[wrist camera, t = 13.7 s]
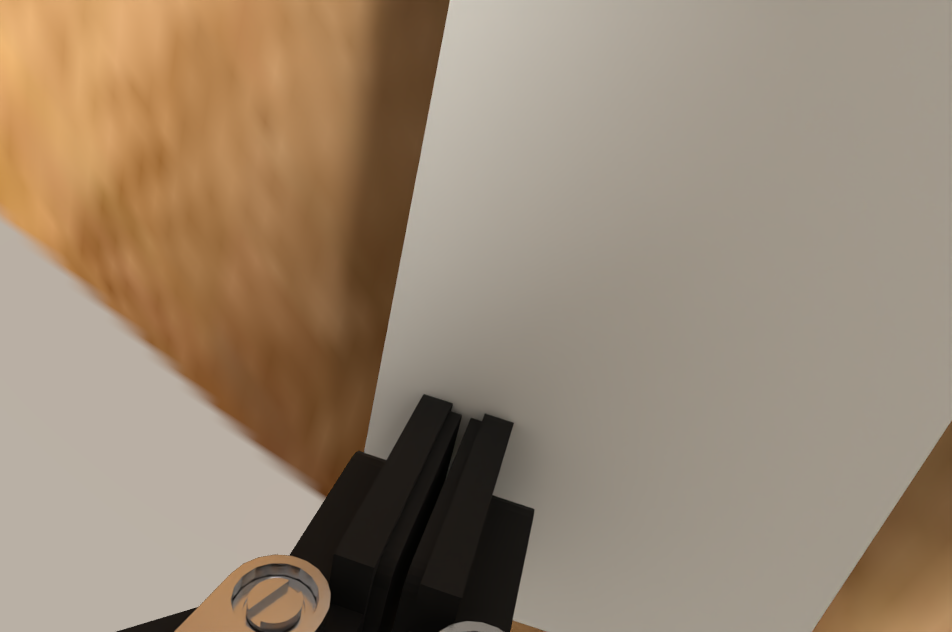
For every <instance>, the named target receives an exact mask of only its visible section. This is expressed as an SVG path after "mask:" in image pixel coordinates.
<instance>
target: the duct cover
mask: <svg viewBox="0 0 952 632" xmlns="http://www.w3.org/2000/svg"><path fill="white" fill-rule="evenodd" d="M424 394H426V395H429V396H432V397H435V398H438V399H441V400H444V401H448V402H451V403H453V406H452V410H451V411H452V412H455V413H458V414H461V415H462V418H461V422H460V426H459V430H458V433H457V437H456V441H455V445H454V449H453V452H452V456H451V460H450V464H449V468H448V471H447V475H448V472H449V470H450V467H451V465H452V462H453V460H454V457H455V455H456V453H457V450H458V448H459V445H460V443H461V440H462V438H463V435H464V433H465V431H466V428H467V426H468V423H469V421H470V418H474V419H477V420H480V421H482V420H483V417H484V414H488V415H492V416H495V417H498V418H501V419H504V420H507V421H510V422H513V423H514V425H513V428H512V431H511V435H510V438H509V441H508V445H507V448H506V451H505V455H504V458H503V462H502V465H501V468H500V472H499V475H498V478H497V482H496V485H495V488H494V492H493V495H494V496H497V497H500V498H503V499H506V500H509V501H512V502H515V503H518V504H521V505H524V506H527V507H530V508H533V509H534V517H533V522H532V527H531V532H530V537H529V542H528V547H527V552H526V557H525V561H524V566H523V571H522V576H521V581H520V586H519V591H518V596H517V600H516V605H515V610H514V615H513V621H516V622H519V623H522V624H525V625H528V626H531V627H534V628H537V629H540V630H543V631H546V632H812V631H813V629H814V628H815V626H816V625H817V623H818V622H819V620H820V619H821V617H822V616H823V614H824V613H825V611H826V610H827V608H828V607H829V605H830V604H831V602H832V601H833V599H834V598H835V596H836V594H837V593H838V591H839V590H840V588H841V587H842V585H843V584H844V582H845V581H846V579H847V578H848V576H849V575H850V573H851V572H852V570H853V569H854V567H855V566H856V564H857V563H858V561H859V560H860V558H861V557H862V555H863V554H864V552H865V551H866V549H867V548H868V546H869V545H870V543H871V542H872V540H873V539H874V537H875V536H876V534H877V533H878V531H879V530H880V528H881V527H882V525H883V524H884V522H885V520H886V519H887V517H888V516H889V514H890V513H891V511H892V510H893V508H894V507H895V505H896V504H897V502H898V501H899V499H900V498H901V496H902V495H903V493H904V492H905V490H906V489H907V487H908V486H909V484H910V483H911V481H912V480H913V478H914V477H915V475H916V474H917V472H918V471H919V469H920V468H921V466H922V465H923V463H924V462H925V460H926V459H927V457H928V456H929V454H930V453H931V451H932V449H933V448H934V446H935V445H936V443H937V442H938V440H939V439H940V437H941V436H942V434H943V433H944V431H945V430H946V428H947V427H948V425H949V424H950V422H951V421H952V0H450V2H449V8H448V13H447V18H446V23H445V29H444V34H443V39H442V45H441V50H440V55H439V60H438V66H437V71H436V76H435V81H434V87H433V92H432V97H431V102H430V108H429V113H428V118H427V123H426V129H425V134H424V139H423V144H422V150H421V155H420V160H419V166H418V171H417V176H416V181H415V187H414V192H413V197H412V202H411V208H410V213H409V218H408V223H407V229H406V234H405V239H404V244H403V250H402V255H401V260H400V265H399V271H398V276H397V281H396V286H395V292H394V297H393V302H392V308H391V313H390V318H389V323H388V329H387V334H386V339H385V344H384V350H383V355H382V360H381V365H380V371H379V376H378V381H377V386H376V392H375V397H374V402H373V407H372V413H371V418H370V423H369V429H368V434H367V439H366V444H365V450H364V453H367V454H370V455H373V456H376V457H379V458H382V459H385V460H387V458H388V456H389V455H390V453H391V451H392V449H393V447H394V446H395V444H396V442H397V440H398V438H399V437H400V435H401V433H402V431H403V429H404V428H405V426H406V424H407V422H408V421H409V419H410V417H411V415H412V413H413V412H414V410H415V408H416V406H417V404H418V403H419V401H420V399H421V397H422V396H423V395H424ZM447 475H446V477H447Z"/></svg>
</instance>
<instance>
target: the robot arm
mask: <svg viewBox="0 0 952 632" xmlns="http://www.w3.org/2000/svg"><path fill="white" fill-rule="evenodd" d="M452 406H453V403H451V402H448V401H444V400H441V399H438V398H435V397H432V396H429V395H426V394H424V395H423V396H422V397H421V399H420V401H419V403H418V404H417V406H416V408H415V410H414V412H413V413H412V415H411V417H410V419H409V421H408V422H407V424H406V426H405V428H404V429H403V431H402V433H401V435H400V437H399V438H398V440H397V442H396V444H395V446H394V447H393V449H392V451H391V453H390V455H389V456H388V458H387V460H385V459H382V458H379V457H376V456H373V455H370V454H367V453H364V452H361V451H358V452H356V453H355V454H354V455H353V457H352V458H351V460H350V461H349V463H348V464H347V466H346V468H345V469H344V471H343V472H342V474H341V475H340V477H339V478H338V480H337V482H336V483H335V485H334V486H333V488H332V489H331V491H330V493H329V494H328V496H327V497H326V499H325V500H324V502H323V504H322V505H321V507H320V508H319V510H318V511H317V513H316V515H315V516H314V518H313V519H312V521H311V522H310V524H309V526H308V527H307V529H306V530H305V532H304V533H303V535H302V536H301V538H300V540H299V541H298V543H297V545H296V546H295V547H294V549H293V551H292V552H291V554H290V556H287V555H270V556H263V557H258V558H256V559H253V560H251V561H249V562H246V563H244V564H243V565H241V566H240V567H239V568H237V569H236V570H235V571H233V572H232V573H231V574H230V575H229V576H228V577H227V578H226V579H225V580H224V581H223V582H222V583H221V584H220V585H219V586H218V587H217V588H216V589H215V590H214V591H213V592H212V594H210V596H209V597H208V598H207V599H206V600H205V601H204V602H203V603H202V604H201V605H200V606H199V607H197V608H193V609H190V610H187V611H184V612H180V613H177V614H173V615H170V616H167V617H163V618H160V619H157V620H154V621H150V622H147V623H144V624H140V625H137V626H134V627H131V628H127V629H124V630H120V631H117V632H510V630H511V625H512V620H513V615H514V610H515V605H516V600H517V596H518V591H519V586H520V581H521V576H522V571H523V566H524V561H525V557H526V552H527V547H528V542H529V537H530V532H531V527H532V522H533V517H534V509H533V508H530V507H527V506H524V505H521V504H518V503H515V502H512V501H509V500H506V499H503V498H500V497H497V496H494V495H493V492H494V488H495V485H496V482H497V478H498V475H499V472H500V468H501V465H502V462H503V458H504V455H505V451H506V448H507V445H508V441H509V438H510V435H511V431H512V428H513V425H514V423H513V422H510V421H507V420H504V419H501V418H498V417H495V416H492V415H488V414H484V417H483V420H482V421H480V420H477V419H474V418H470V421H469V423H468V426H467V428H466V431H465V433H464V435H463V438H462V440H461V443H460V445H459V448H458V450H457V453H456V455H455V457H454V460H453V462H452V465H451V467H450V470H449V472H448V475H447V471H448V468H449V464H450V460H451V456H452V452H453V449H454V445H455V441H456V437H457V433H458V430H459V426H460V422H461V418H462V415H461V414H458V413H455V412H452V411H451V410H452ZM446 475H447V477H446Z"/></svg>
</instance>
